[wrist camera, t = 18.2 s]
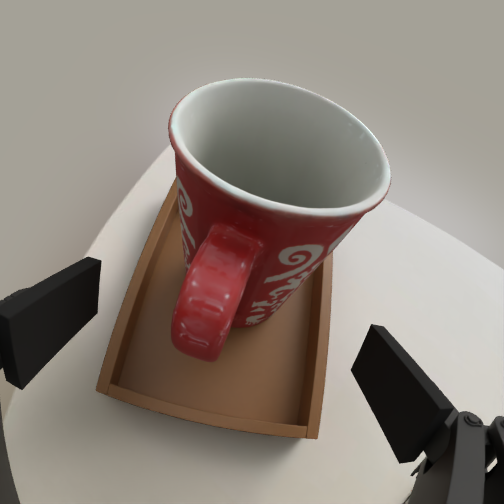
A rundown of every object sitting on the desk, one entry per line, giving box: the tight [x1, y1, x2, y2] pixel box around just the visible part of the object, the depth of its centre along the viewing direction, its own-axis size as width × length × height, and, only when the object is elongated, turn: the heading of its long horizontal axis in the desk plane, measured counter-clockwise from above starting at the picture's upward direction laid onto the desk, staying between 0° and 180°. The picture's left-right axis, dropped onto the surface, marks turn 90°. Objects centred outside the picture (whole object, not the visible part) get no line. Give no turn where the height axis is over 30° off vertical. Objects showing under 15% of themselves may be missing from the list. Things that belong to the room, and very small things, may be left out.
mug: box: [168, 78, 391, 362], centre depth 15 cm, size 13×9×14 cm
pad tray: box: [96, 178, 333, 439], centre depth 20 cm, size 14×18×2 cm
